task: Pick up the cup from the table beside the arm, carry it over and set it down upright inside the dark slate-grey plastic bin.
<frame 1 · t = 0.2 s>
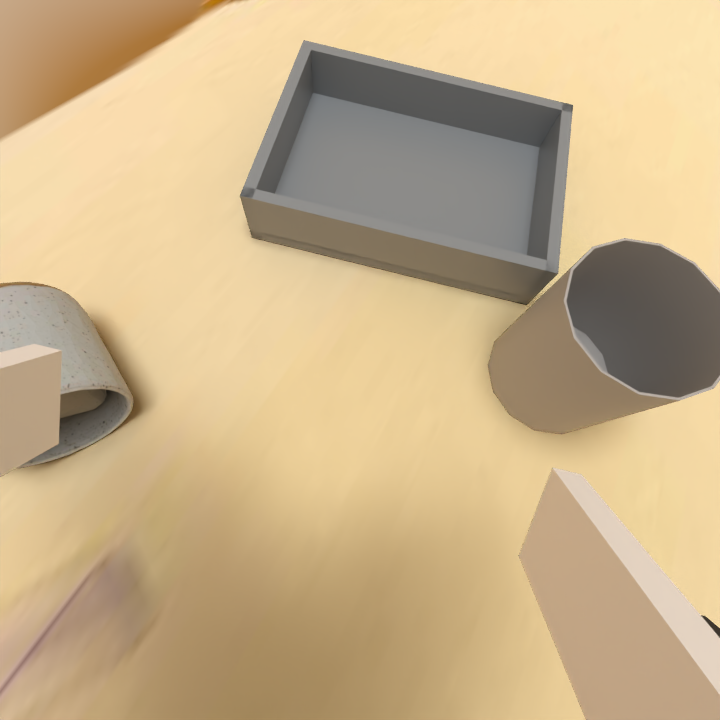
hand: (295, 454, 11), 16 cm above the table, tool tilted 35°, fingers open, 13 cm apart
cup: (545, 374, 30), on the table
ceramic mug: (55, 404, 27), on the table
slate bin: (408, 191, 34), on the table
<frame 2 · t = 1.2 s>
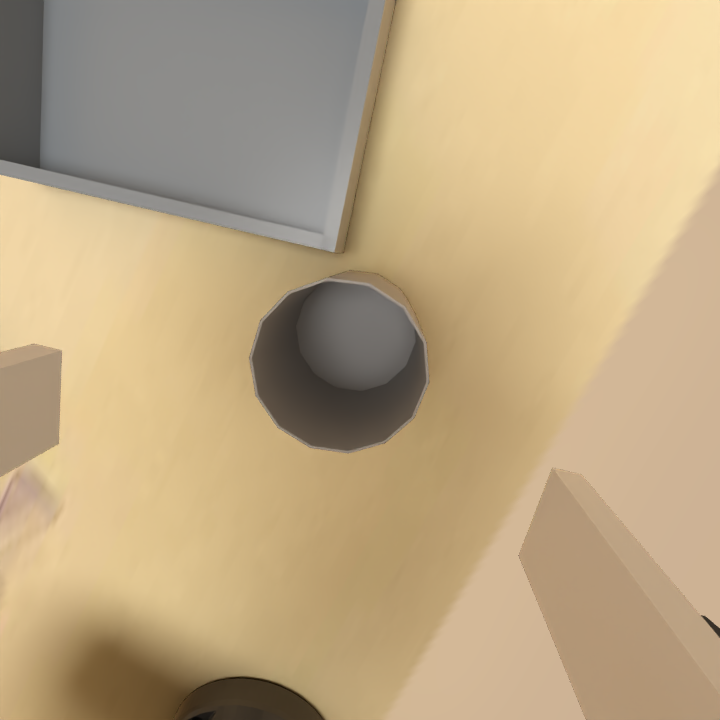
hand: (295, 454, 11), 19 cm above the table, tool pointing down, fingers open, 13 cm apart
cup: (356, 331, 29), on the table
slate bin: (204, 93, 26), on the table
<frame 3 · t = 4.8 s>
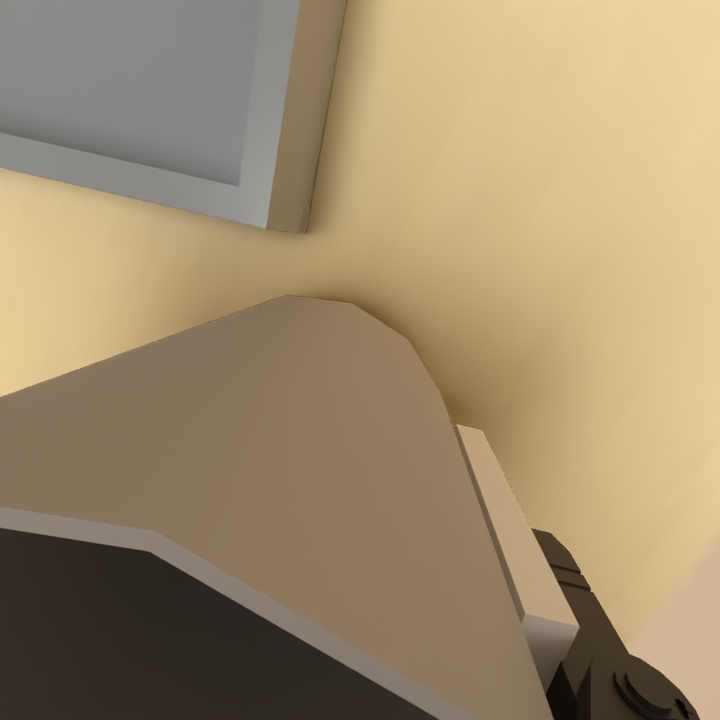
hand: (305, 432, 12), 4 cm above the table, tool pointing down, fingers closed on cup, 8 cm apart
cup: (308, 431, 13), point 3 cm above the table, touching gripper
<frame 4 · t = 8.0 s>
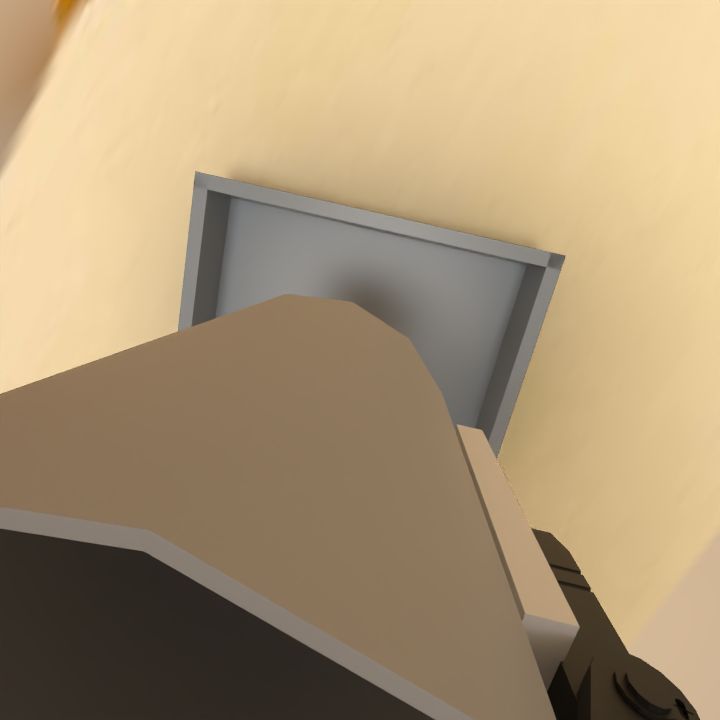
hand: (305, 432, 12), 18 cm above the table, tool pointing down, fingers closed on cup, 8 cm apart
cup: (308, 430, 13), point 17 cm above the table, touching gripper
slate bin: (356, 329, 29), on the table
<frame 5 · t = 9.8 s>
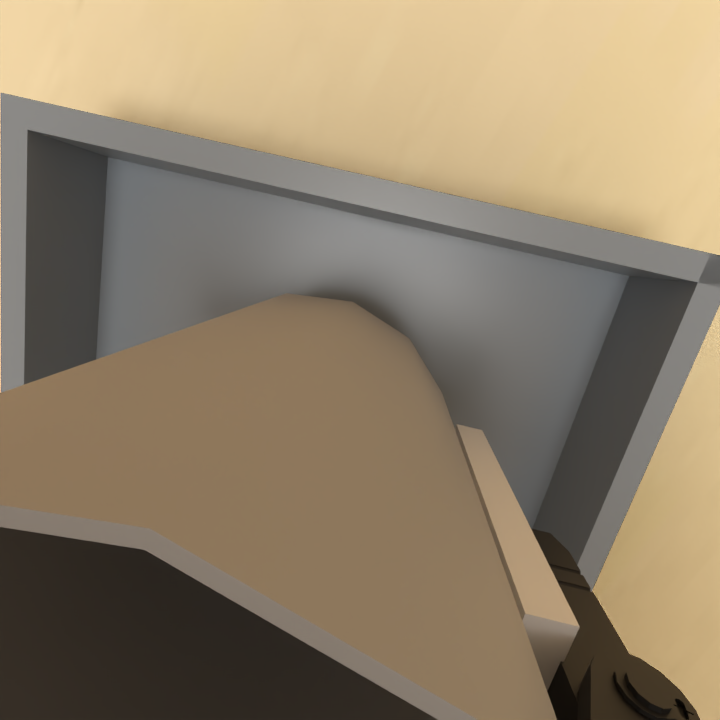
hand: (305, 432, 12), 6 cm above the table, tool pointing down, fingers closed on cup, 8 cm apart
cup: (308, 430, 13), point 5 cm above the table, touching gripper
slate bin: (332, 379, 18), on the table
when the fingers open (3 cm above the table, at t = 11.4 s): cup drops 1 cm, resting on slate bin.
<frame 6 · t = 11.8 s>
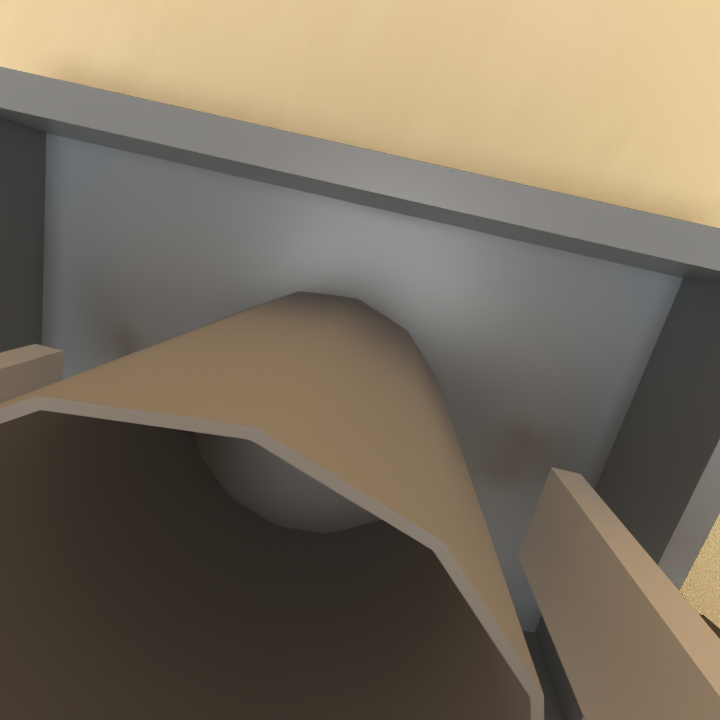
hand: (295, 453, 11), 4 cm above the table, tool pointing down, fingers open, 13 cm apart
cup: (317, 414, 14), point 1 cm above the table, touching slate bin
slate bin: (321, 400, 15), on the table
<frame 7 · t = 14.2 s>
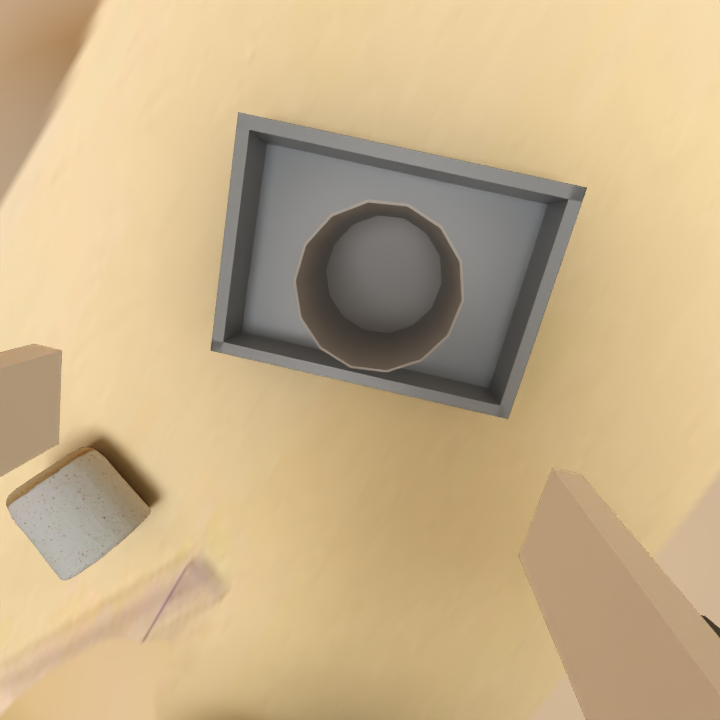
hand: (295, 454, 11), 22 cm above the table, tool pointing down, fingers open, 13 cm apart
cup: (383, 275, 30), point 1 cm above the table, touching slate bin
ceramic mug: (103, 491, 39), on the table
slate bin: (384, 271, 31), on the table
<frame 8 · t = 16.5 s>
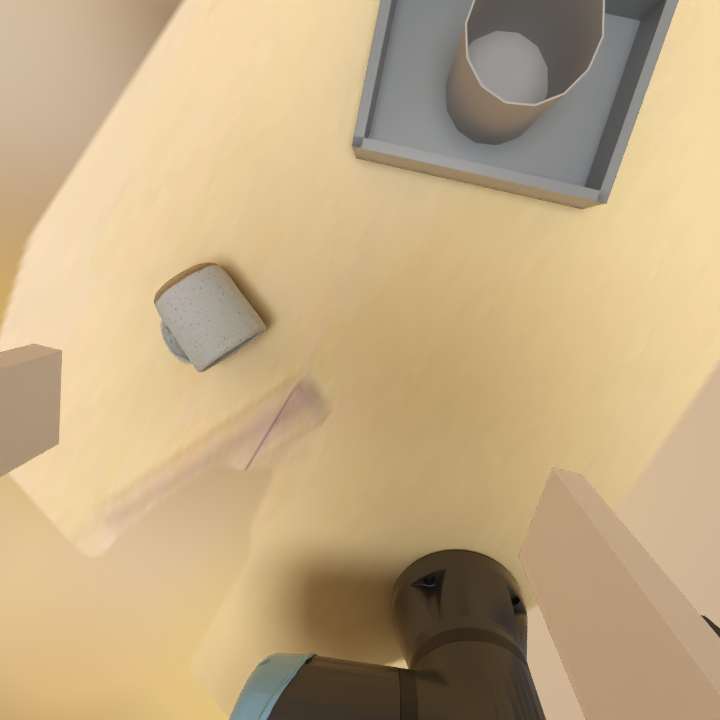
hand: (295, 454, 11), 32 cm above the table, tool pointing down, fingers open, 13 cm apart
cup: (495, 91, 36), point 1 cm above the table, touching slate bin
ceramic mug: (218, 320, 44), on the table
slate bin: (493, 92, 36), on the table
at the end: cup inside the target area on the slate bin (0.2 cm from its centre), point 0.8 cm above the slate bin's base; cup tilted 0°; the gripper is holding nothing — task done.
